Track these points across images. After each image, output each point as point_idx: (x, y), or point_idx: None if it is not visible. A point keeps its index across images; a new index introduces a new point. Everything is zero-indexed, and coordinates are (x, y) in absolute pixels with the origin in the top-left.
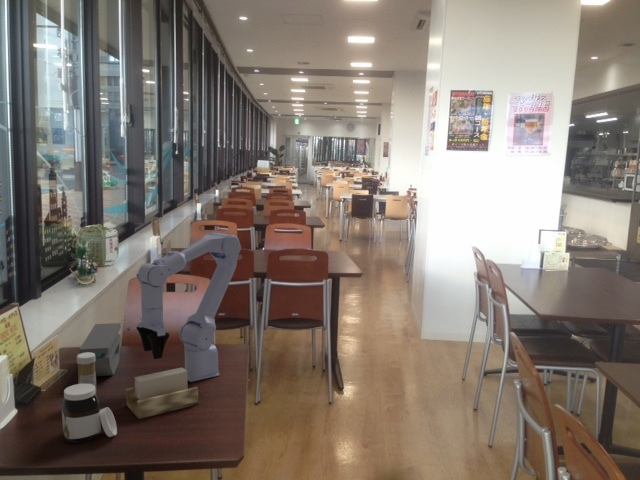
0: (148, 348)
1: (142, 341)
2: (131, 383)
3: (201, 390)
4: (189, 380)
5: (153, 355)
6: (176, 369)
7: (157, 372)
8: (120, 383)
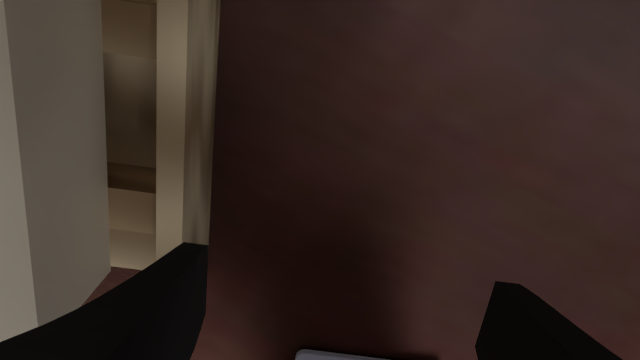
0: (493, 331)
1: (582, 348)
2: (538, 105)
3: None
4: (306, 352)
5: (166, 255)
6: (11, 300)
7: (17, 148)
8: (598, 48)
